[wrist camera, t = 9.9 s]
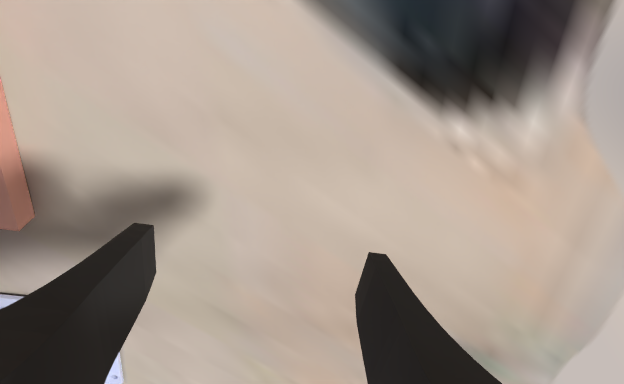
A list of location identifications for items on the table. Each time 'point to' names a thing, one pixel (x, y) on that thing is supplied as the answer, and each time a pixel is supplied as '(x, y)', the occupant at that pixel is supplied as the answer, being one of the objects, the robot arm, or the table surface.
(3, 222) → the board
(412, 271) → the table surface
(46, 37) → the table surface
